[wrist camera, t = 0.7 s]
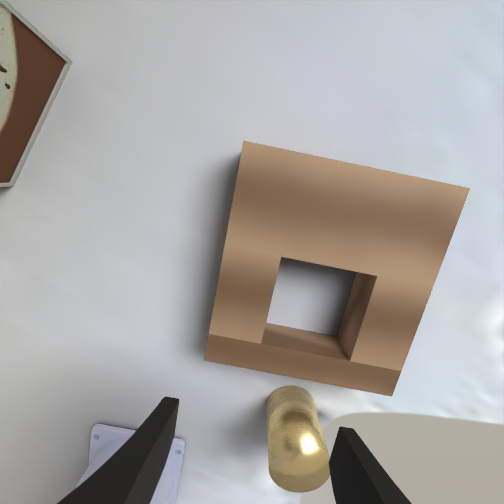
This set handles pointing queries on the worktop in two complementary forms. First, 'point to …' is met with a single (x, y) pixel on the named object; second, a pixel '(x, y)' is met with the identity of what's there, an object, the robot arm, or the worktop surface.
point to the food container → (24, 88)
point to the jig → (330, 264)
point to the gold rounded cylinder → (295, 441)
